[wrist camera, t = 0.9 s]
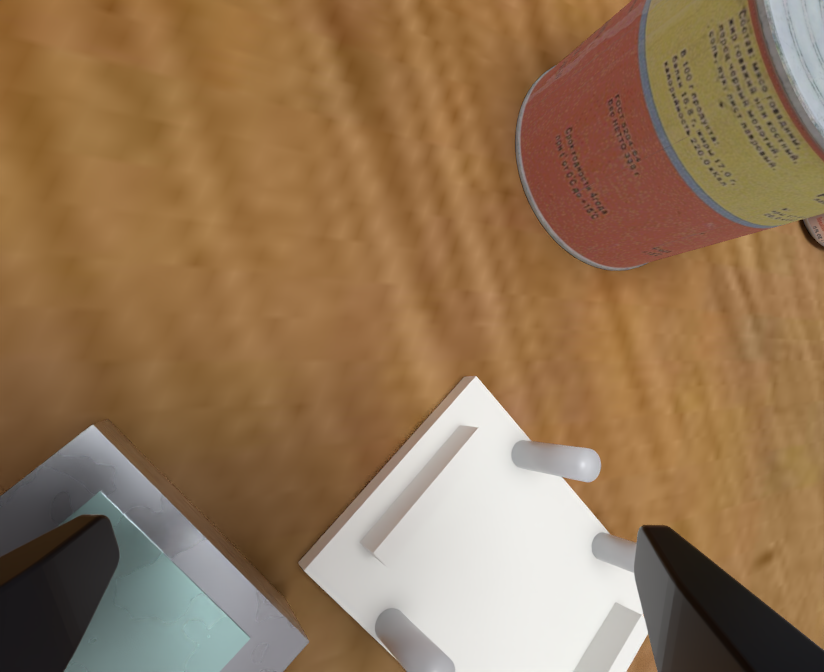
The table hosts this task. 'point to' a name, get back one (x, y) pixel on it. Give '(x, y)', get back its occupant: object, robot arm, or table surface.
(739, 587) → the robot arm
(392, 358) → the table surface
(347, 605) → the white peg stand
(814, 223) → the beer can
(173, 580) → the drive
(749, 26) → the canned food
